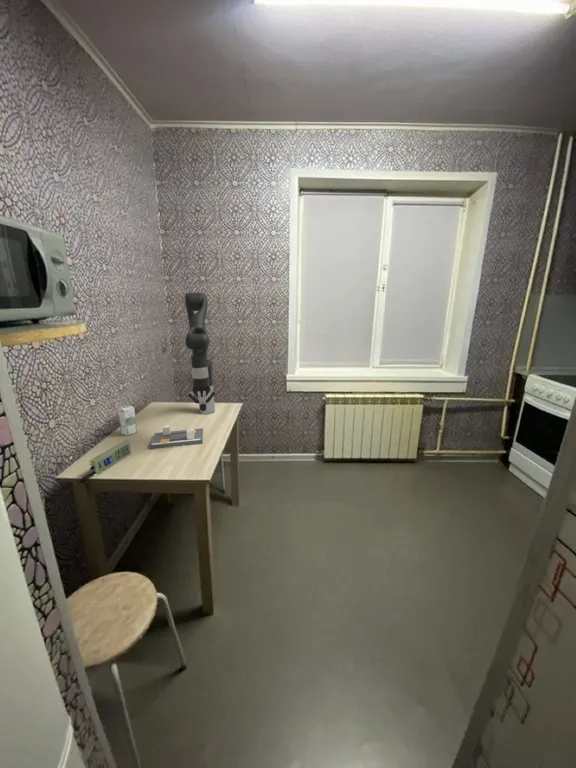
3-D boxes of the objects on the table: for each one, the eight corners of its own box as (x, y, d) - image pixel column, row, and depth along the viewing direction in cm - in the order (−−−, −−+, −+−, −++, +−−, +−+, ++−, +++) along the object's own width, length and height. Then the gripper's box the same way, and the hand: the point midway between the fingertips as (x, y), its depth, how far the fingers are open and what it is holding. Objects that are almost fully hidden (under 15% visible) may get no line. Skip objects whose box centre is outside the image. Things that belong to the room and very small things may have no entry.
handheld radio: (133, 453, 145) (86, 483, 121) (127, 453, 146) (79, 482, 122) (130, 440, 143) (82, 467, 120) (124, 439, 144) (75, 466, 121)
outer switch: (187, 436, 157) (187, 428, 156) (194, 435, 158) (193, 428, 157) (187, 439, 154) (186, 431, 153) (194, 438, 154) (193, 431, 153)
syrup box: (130, 430, 171) (127, 404, 167) (137, 432, 168) (134, 406, 165) (120, 434, 166) (116, 408, 163) (127, 436, 163) (123, 409, 160)
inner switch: (164, 432, 162) (163, 425, 161) (170, 432, 163) (170, 424, 162) (163, 435, 158) (162, 428, 157) (170, 434, 159) (169, 427, 158)
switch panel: (155, 436, 163) (154, 432, 162) (203, 431, 168) (202, 428, 168) (150, 449, 149) (149, 445, 148) (202, 443, 154) (202, 439, 154)
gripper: (214, 373, 155) (217, 407, 159) (186, 375, 152) (189, 409, 156) (214, 377, 147) (217, 412, 152) (185, 378, 145) (188, 414, 149)
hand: (203, 410), depth 154 cm, fingers closed
